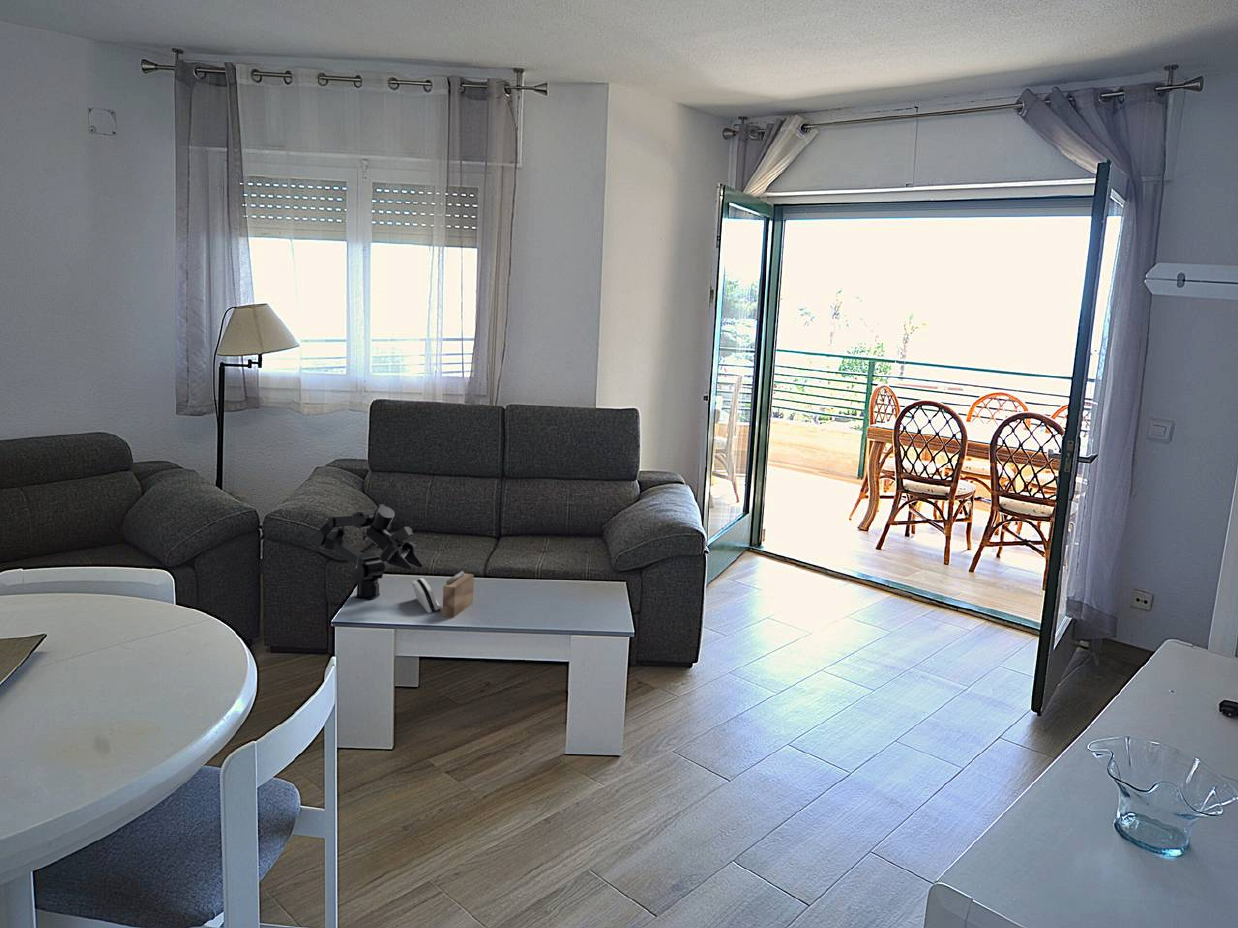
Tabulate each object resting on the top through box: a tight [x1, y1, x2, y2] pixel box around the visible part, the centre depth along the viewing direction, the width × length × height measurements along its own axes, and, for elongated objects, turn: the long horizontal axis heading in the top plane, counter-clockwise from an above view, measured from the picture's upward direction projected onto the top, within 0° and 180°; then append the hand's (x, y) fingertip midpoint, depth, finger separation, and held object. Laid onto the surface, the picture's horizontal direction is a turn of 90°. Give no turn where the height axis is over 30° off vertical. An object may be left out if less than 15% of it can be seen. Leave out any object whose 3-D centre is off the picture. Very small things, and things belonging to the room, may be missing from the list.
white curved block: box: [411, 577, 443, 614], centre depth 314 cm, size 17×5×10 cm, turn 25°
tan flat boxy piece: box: [441, 570, 475, 618], centre depth 312 cm, size 4×17×11 cm, turn 168°
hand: (416, 567), depth 312 cm, fingers open, 9 cm apart
